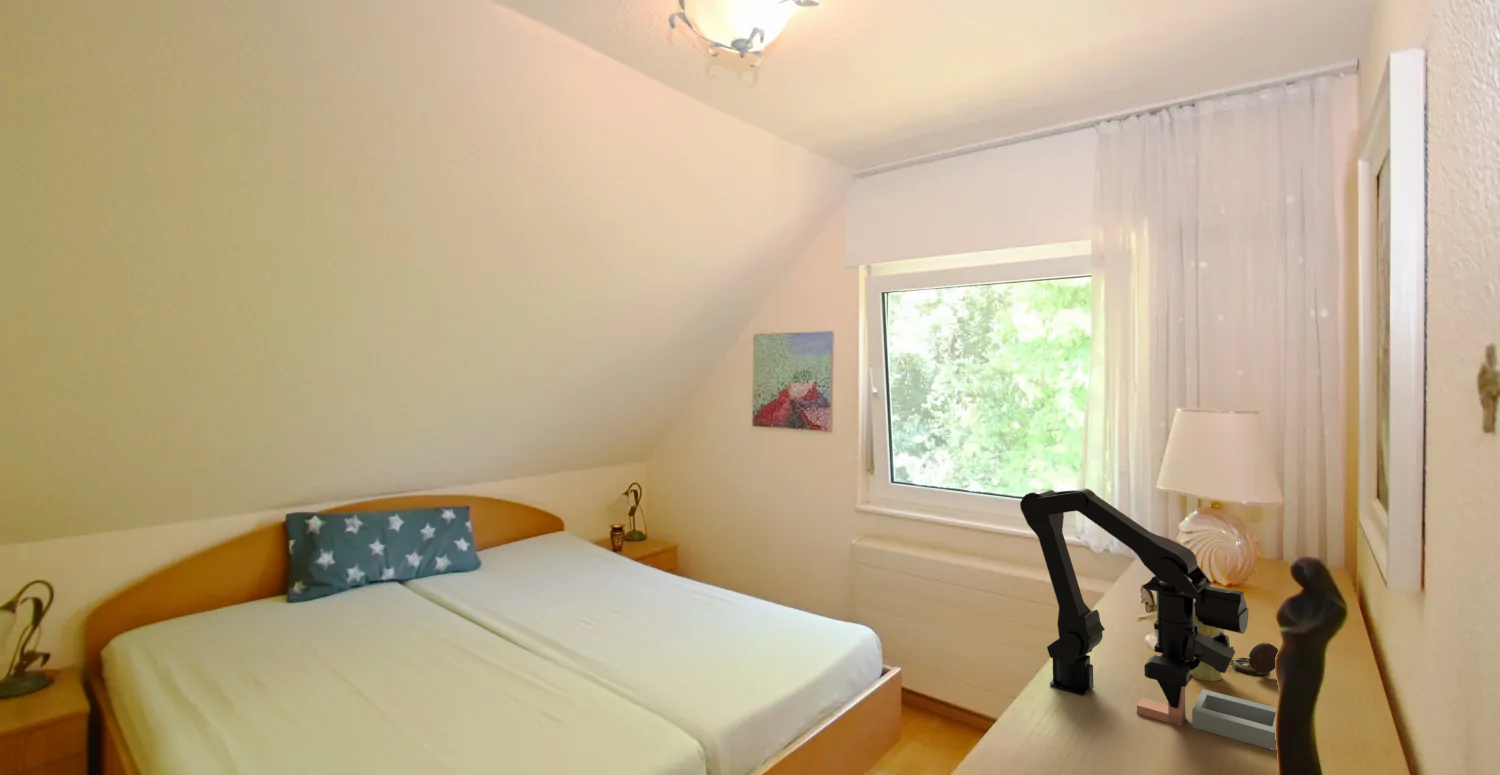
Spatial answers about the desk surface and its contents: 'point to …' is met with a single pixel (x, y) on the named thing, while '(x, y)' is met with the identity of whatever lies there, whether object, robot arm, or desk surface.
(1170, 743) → the desk surface
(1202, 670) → the vase
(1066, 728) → the desk surface
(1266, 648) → the compass
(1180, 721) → the bracket
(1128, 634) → the desk surface
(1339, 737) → the desk surface
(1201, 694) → the well block
